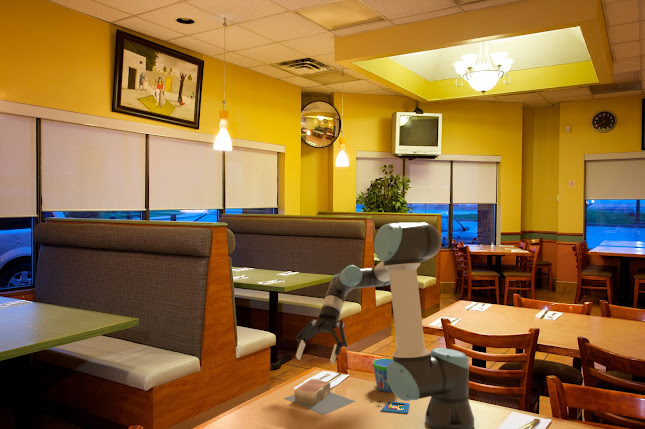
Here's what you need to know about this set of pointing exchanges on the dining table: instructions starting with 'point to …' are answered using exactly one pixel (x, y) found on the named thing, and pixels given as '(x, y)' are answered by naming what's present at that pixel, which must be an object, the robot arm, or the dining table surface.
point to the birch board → (312, 391)
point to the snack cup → (382, 374)
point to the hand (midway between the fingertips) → (314, 360)
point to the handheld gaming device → (389, 409)
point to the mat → (324, 403)
